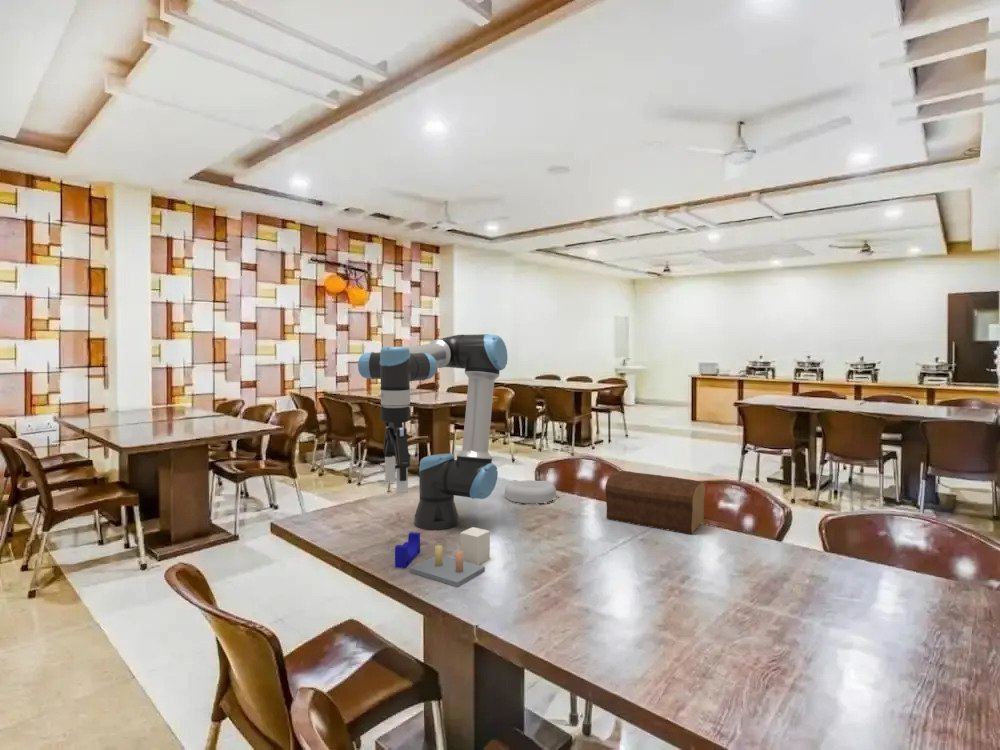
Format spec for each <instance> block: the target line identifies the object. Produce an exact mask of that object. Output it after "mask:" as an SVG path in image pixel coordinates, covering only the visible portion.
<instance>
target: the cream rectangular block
mask: <svg viewBox="0 0 1000 750" xmlns="http://www.w3.org/2000/svg"><path fill="white" fill-rule="evenodd" d="M490 535H491V530H487V529H483V528H479V527H476V526H475V527H474V526H472V527H469V528H467V529H465V530H463V531H461V532H459V551H463V561H466V562H469V563H473V564H477V565H481V564H483V563H484V562H486V561H488V560H490V559H491V558H490V557H491V556H490V555H491V554H490V553H491V552H490V551H491V548H490V546H491V539H490V538H491V536H490Z"/></svg>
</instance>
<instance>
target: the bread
mask: <svg viewBox="0 0 1000 750" xmlns="http://www.w3.org/2000/svg"><path fill="white" fill-rule="evenodd" d="M705 495H706V484H705V483H704V482H703V481H700V480H694V479H690V478H688V479H687V478H682V477H676V476H667V475H661V474H651V473H643V472H633V471H628V470H627V471H626V470H618V471H616V472H615V471H614V472H613V473H612V474H611V475H609V477H608V478H607V479H606V483H605V496H606V497H605V502H606V519H608V520H611V519H613V520H612V521H616V520H618V521H617V522H621V521H623V522H622V523H627V522H630V523H629V524H632V523H634V524H633V525H637V524H640V525H639V526H642V525H646V526H645V527H648V526H653V527H657V528H656V529H658V528H663V529H662V530H664V529H669V530H668V531H670V530H674V531H673V532H676V531H679V532H678V533H681V532H684V533H683V534H688V533H689V535H692V534H693V533H694V532H695V531H696V530H697V529H696V528H699V527H700V526H701V525H702V523H703V522H704V518H705V517H704V515H705V513H704V512H705V511H704V508H705ZM653 527H652V528H653ZM695 529H696V530H695Z"/></svg>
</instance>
